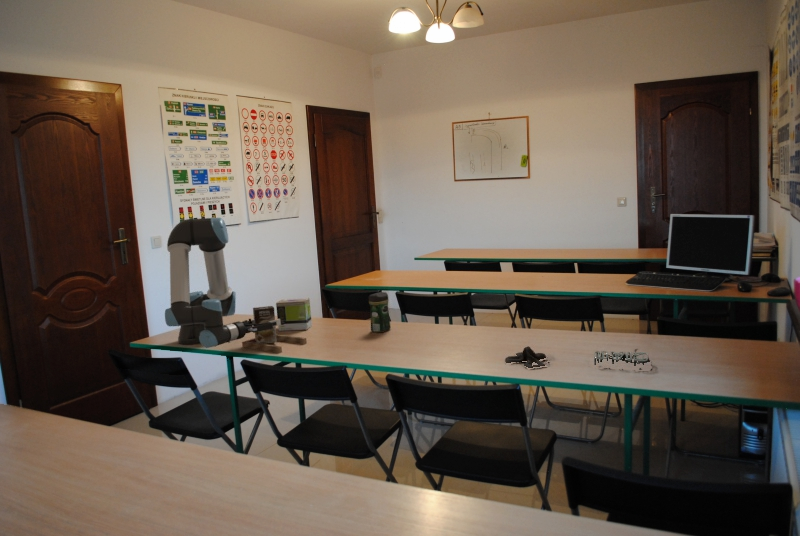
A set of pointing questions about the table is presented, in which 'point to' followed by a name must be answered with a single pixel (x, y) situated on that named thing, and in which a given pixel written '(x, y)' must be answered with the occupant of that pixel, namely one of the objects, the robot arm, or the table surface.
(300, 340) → the brown wooden flat frame
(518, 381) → the table surface
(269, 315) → the coffee box
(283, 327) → the tea box
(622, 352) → the neon sign
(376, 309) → the coffee jar
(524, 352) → the cloth
